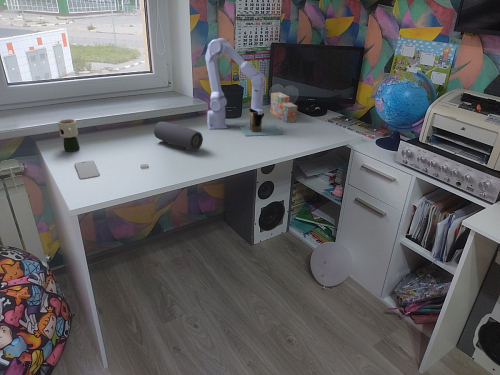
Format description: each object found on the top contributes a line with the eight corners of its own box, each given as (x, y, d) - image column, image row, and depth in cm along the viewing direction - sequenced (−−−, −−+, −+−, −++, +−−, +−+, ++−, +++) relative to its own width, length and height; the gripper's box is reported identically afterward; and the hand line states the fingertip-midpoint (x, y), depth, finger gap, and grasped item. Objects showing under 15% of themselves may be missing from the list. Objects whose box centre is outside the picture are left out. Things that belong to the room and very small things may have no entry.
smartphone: (79, 179, 140) (74, 163, 151) (80, 181, 140) (74, 165, 152) (100, 175, 143) (93, 160, 154) (100, 178, 144) (93, 162, 155)
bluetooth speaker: (204, 149, 172) (203, 128, 167) (190, 155, 165) (189, 133, 160) (168, 138, 183) (167, 118, 178) (153, 143, 176) (152, 122, 171)
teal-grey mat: (245, 136, 189) (245, 135, 189) (239, 127, 201) (239, 126, 201) (283, 134, 194) (283, 133, 194) (275, 126, 206) (275, 125, 206)
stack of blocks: (296, 122, 214) (298, 100, 209) (286, 123, 212) (288, 101, 206) (278, 111, 232) (280, 91, 226) (269, 112, 229) (271, 92, 224)
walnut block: (251, 132, 194) (252, 115, 190) (249, 129, 198) (250, 112, 194) (261, 131, 195) (262, 114, 191) (258, 128, 199) (259, 112, 195)
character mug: (61, 147, 167) (55, 118, 161) (78, 144, 171) (73, 116, 165) (65, 155, 159) (59, 126, 153) (83, 152, 163) (78, 123, 157)
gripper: (268, 101, 184) (267, 128, 190) (261, 94, 196) (259, 119, 202) (254, 102, 182) (253, 128, 188) (247, 94, 194) (247, 120, 201)
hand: (255, 124), depth 195 cm, fingers open, 6 cm apart
